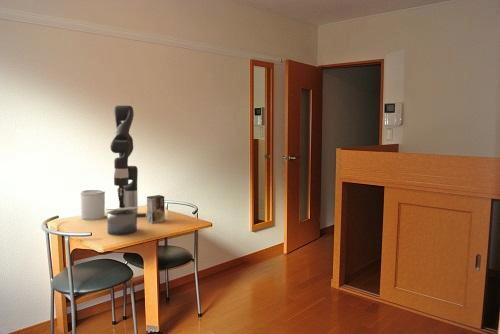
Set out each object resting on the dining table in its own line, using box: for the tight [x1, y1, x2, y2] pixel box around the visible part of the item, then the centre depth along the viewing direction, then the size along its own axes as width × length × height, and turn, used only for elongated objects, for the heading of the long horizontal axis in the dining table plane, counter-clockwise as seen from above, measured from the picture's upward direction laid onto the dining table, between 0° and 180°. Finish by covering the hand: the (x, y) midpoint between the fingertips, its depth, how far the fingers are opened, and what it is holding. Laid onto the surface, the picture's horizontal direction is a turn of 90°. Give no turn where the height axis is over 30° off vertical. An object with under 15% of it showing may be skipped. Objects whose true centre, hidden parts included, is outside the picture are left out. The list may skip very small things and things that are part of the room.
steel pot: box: [106, 210, 147, 236], centre depth 223 cm, size 16×21×11 cm
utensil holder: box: [79, 188, 106, 221], centre depth 253 cm, size 15×15×18 cm
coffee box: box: [146, 194, 166, 224], centre depth 246 cm, size 9×6×16 cm
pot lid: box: [105, 205, 139, 211], centre depth 222 cm, size 18×17×3 cm
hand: (121, 207), depth 218 cm, fingers closed
